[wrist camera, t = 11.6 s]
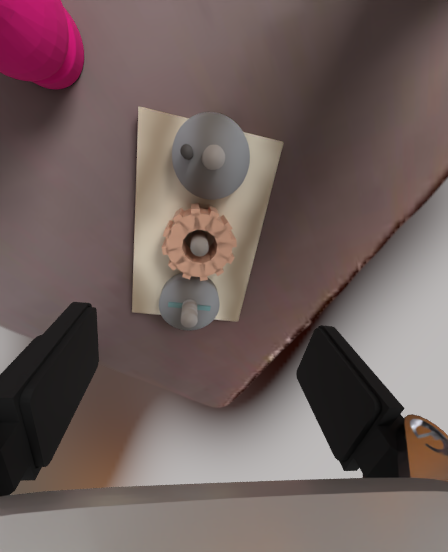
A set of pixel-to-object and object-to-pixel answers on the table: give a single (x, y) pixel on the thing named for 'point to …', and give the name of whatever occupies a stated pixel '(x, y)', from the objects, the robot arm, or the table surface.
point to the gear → (182, 253)
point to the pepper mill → (39, 43)
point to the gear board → (206, 191)
